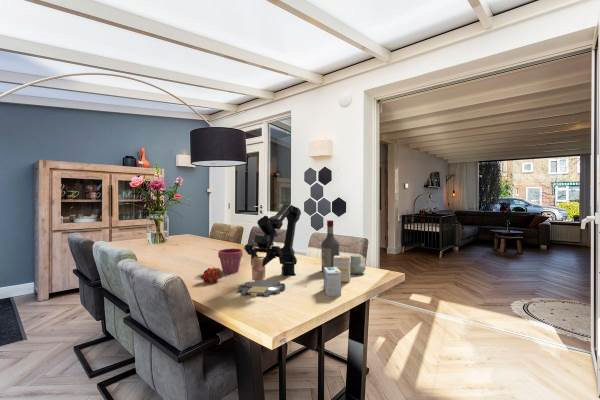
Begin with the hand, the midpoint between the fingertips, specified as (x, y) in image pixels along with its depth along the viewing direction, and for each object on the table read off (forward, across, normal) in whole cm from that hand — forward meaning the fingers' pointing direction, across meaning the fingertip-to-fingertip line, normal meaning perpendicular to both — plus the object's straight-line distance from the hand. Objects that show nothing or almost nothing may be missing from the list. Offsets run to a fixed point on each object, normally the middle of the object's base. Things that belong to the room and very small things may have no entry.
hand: (257, 265), depth 145 cm
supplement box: (-14, +32, +33) cm, 48 cm away
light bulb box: (0, +32, +19) cm, 37 cm away
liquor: (-26, +20, +45) cm, 56 cm away
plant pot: (-11, -35, +30) cm, 47 cm away
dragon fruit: (+5, -32, +14) cm, 35 cm away
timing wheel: (+5, -1, +14) cm, 14 cm away
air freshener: (-27, +35, +46) cm, 64 cm away
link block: (+4, 0, +6) cm, 7 cm away
